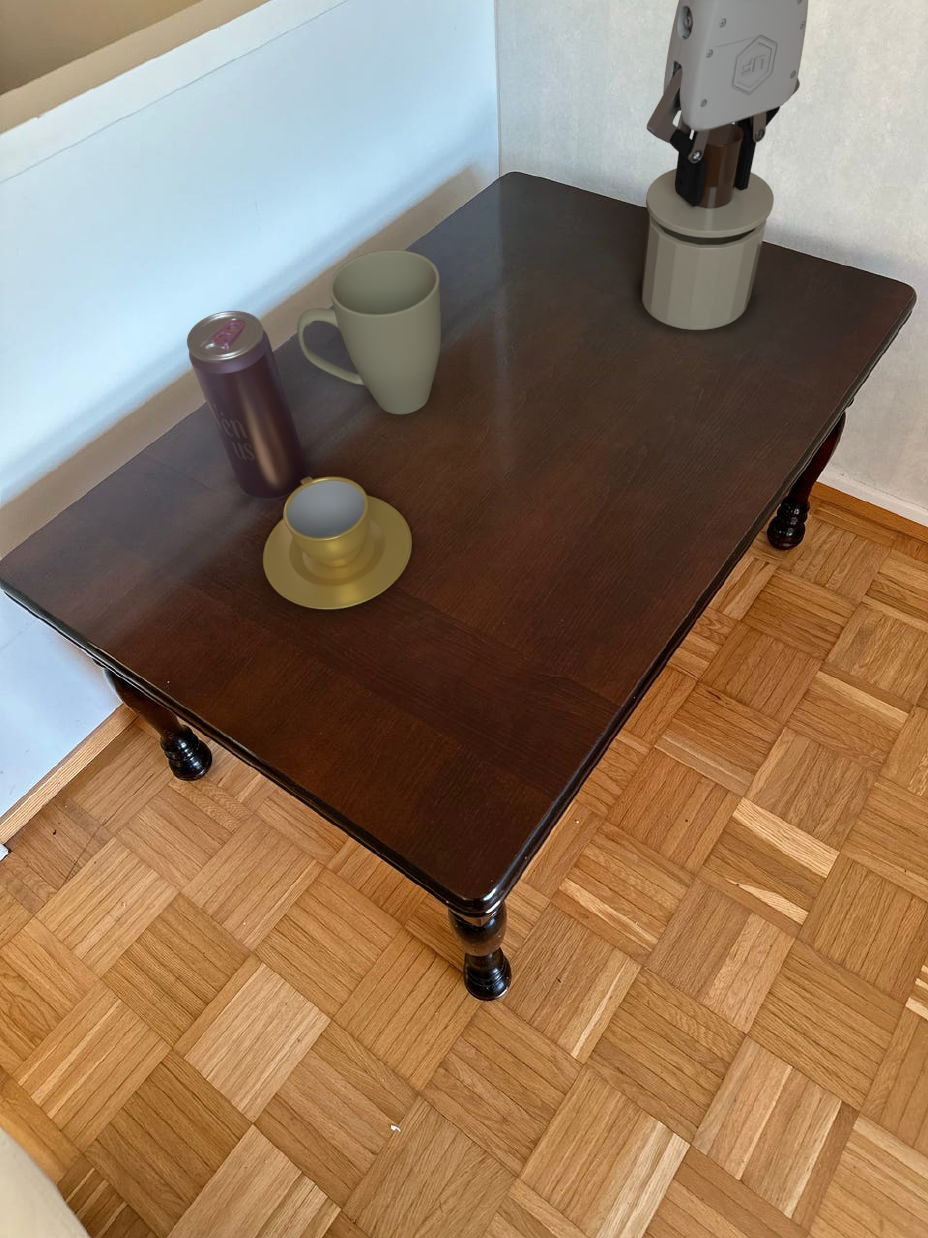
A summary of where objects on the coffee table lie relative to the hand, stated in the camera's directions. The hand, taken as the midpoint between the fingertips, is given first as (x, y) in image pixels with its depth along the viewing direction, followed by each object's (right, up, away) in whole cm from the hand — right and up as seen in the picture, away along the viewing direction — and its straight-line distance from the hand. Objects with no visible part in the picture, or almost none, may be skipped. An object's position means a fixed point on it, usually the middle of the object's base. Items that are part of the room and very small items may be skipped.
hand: (711, 188), depth 80 cm
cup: (-32, -33, -7) cm, 46 cm away
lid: (0, -1, +1) cm, 1 cm away
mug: (-28, -18, +3) cm, 34 cm away
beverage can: (-38, -26, -1) cm, 46 cm away
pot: (+1, -6, +9) cm, 11 cm away
